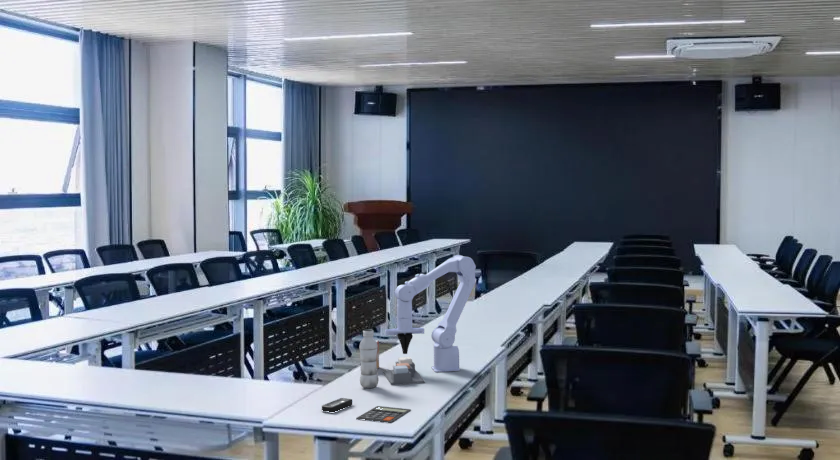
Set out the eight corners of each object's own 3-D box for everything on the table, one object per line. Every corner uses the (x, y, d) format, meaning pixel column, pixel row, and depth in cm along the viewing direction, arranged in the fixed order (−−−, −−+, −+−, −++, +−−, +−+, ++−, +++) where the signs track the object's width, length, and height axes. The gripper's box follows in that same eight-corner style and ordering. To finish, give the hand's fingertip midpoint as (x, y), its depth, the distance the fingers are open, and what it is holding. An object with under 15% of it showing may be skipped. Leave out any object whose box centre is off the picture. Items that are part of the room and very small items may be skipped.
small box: (374, 371, 316) (374, 344, 315) (360, 371, 317) (359, 343, 316) (379, 367, 324) (379, 340, 323) (365, 366, 325) (365, 339, 324)
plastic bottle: (381, 386, 293) (380, 329, 292) (374, 390, 287) (373, 332, 286) (364, 384, 295) (363, 328, 294) (356, 389, 289) (355, 331, 288)
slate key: (405, 372, 301) (405, 365, 300) (408, 375, 296) (407, 368, 296) (393, 373, 300) (393, 366, 300) (395, 375, 295) (395, 368, 295)
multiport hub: (321, 412, 261) (321, 405, 261) (341, 404, 271) (341, 397, 270) (332, 414, 259) (332, 407, 259) (352, 406, 268) (352, 399, 268)
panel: (414, 370, 316) (414, 360, 316) (424, 383, 297) (424, 372, 296) (382, 372, 314) (382, 362, 314) (391, 385, 294) (391, 374, 294)
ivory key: (410, 363, 315) (409, 357, 315) (412, 366, 311) (412, 359, 311) (398, 364, 314) (398, 357, 314) (400, 366, 310) (400, 360, 310)
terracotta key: (408, 369, 308) (407, 363, 308) (410, 372, 304) (410, 365, 303) (396, 370, 307) (396, 363, 307) (398, 373, 303) (398, 366, 303)
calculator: (355, 417, 252) (377, 405, 266) (355, 420, 252) (377, 408, 266) (391, 421, 248) (411, 408, 261) (391, 424, 248) (411, 411, 261)
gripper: (421, 314, 317) (422, 350, 318) (383, 316, 314) (384, 352, 315) (425, 317, 310) (425, 354, 311) (386, 319, 307) (386, 356, 308)
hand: (404, 353), depth 312 cm, fingers closed
